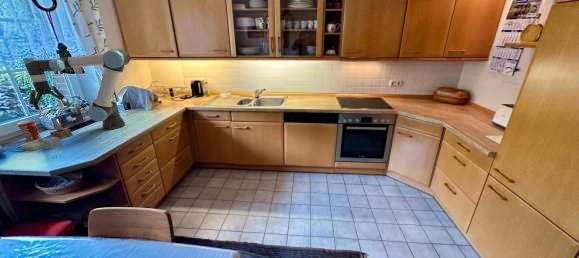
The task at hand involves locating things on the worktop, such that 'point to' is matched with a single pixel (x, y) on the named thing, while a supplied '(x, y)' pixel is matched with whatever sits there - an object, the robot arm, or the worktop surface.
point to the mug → (29, 130)
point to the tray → (33, 145)
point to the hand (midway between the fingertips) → (52, 110)
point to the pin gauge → (57, 125)
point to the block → (52, 143)
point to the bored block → (61, 133)
